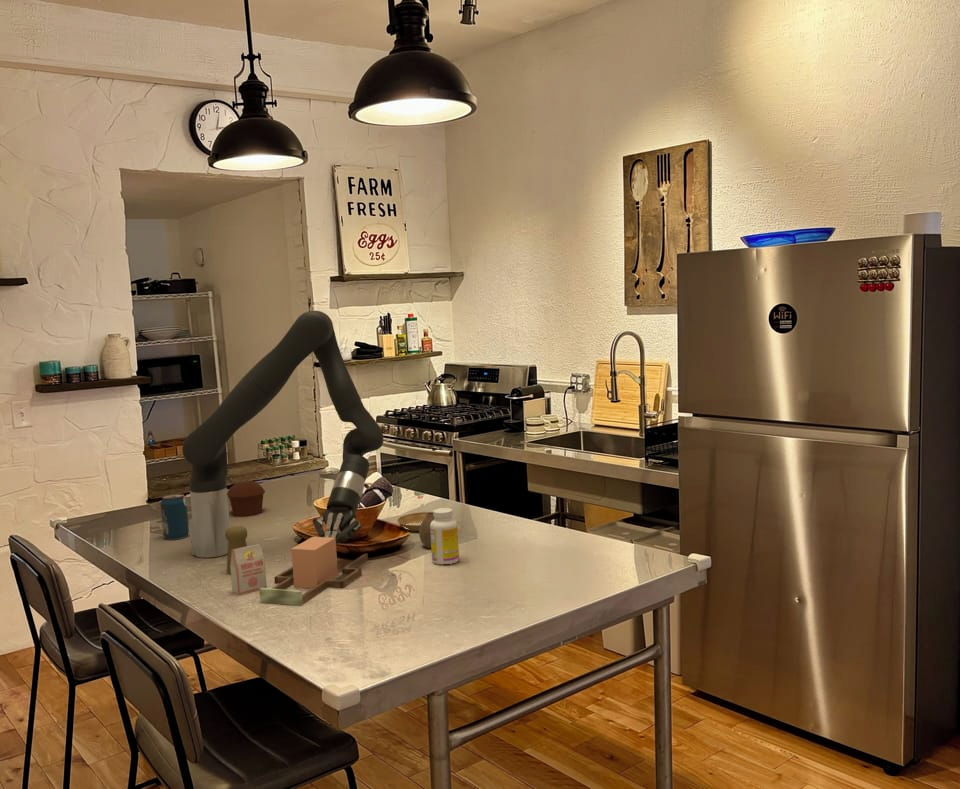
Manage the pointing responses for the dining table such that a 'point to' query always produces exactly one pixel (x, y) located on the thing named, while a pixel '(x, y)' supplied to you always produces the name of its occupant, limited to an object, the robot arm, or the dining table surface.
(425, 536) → the vase
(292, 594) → the trap lane
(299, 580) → the terracotta block
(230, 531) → the olive ball-topped cylinder
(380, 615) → the dining table surface
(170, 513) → the soda can
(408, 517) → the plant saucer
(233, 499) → the muffin
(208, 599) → the dining table surface
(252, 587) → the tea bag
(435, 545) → the supplement bottle
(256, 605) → the dining table surface
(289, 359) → the robot arm
